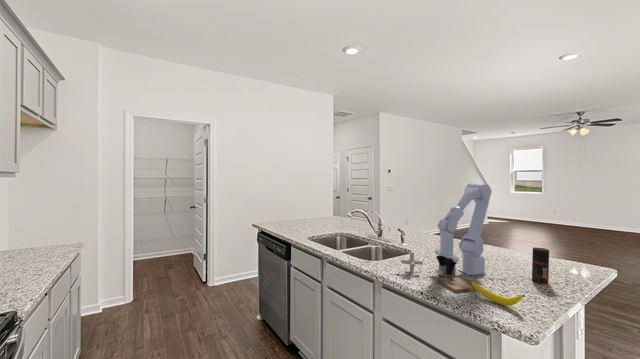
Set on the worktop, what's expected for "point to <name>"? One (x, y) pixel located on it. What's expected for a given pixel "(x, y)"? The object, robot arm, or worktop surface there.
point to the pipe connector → (412, 262)
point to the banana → (497, 296)
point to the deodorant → (540, 266)
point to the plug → (443, 271)
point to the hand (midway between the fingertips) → (446, 272)
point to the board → (457, 284)
